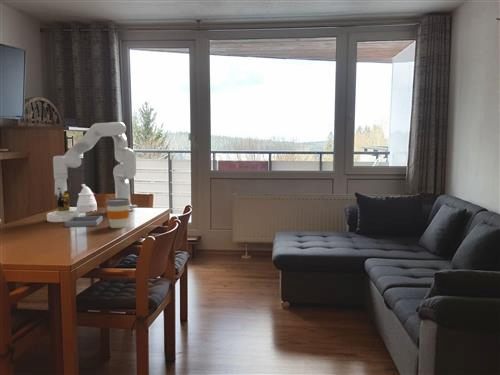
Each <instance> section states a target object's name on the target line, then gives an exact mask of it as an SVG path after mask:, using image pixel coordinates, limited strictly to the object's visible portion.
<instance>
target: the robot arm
mask: <svg viewBox="0 0 500 375" xmlns="http://www.w3.org/2000/svg"><path fill="white" fill-rule="evenodd" d="M126 132H127V126H126V124H125V123H124V122H121V121H111V122H99V123H98V122H95V123H94V124H92V125H91V126H90V128H88V129H87V131H86V132H85V134H84V135H83V136H82V137H81V138H80V139H79V140H78V141H77V142H75V144H73V145H72V146H71V147H70V148H69V149H68V150H67V151H66V152H65V154H63V155H54V156H53V157H52V158H53V159H52V162H53V166H52V167H53V178H54V195H55V196H56V197H57V208H59V207H63V206H64V202H63V195H64V192H65V191H68V183H67V180H68V178H69V177H68V176H69V175H68V168H73V169H75V168H78V167H80V166H81V165H82V158H81V157H80V156H81V155H83V154H85V152H88V151H90V150H92V149H93V147H95V145H96V144H97V142H98V141H99V140H100V138H102V137H111V138H112V139H113V143H114V159H115V160H116V161H117V162H118V163H119V164H117V165H115V166H114V167H113V171H112V174H113V178H114V189H115V191H114V192H115V198H127V199H129V202H130V204H129V212H132V211H134V209H133V208H136V209H137V208H138V205H137V204H132V203H131V185H130V180H132V179H133V178H135V176H136V175H137V156H136V153H135V151H134V150H133V149H132V148H130V147H128V146H129V145H128V144H129V143H128V139H127V135H126V134H125V133H126ZM120 163H121V164H120ZM60 194H62V195H60Z"/></svg>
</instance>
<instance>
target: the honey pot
mask: <svg viewBox="0 0 500 375" xmlns="http://www.w3.org/2000/svg"><path fill="white" fill-rule="evenodd" d="M81 187H82V189H81V190H80V193H78V194H77V195H78V199H77V202H76V211H78V212H79V213H90V211H92V212H96V211H97V210H98V206H97V201H96V197H95V196H94V192H93V191H92V190H91V188H90V187H88V186H86V184H85V183H83V184H81ZM95 210H96V211H95Z"/></svg>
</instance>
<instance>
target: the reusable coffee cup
mask: <svg viewBox="0 0 500 375" xmlns="http://www.w3.org/2000/svg"><path fill="white" fill-rule="evenodd" d="M130 203H131V201H130V202H129V199H127V198H116V197H115V198H108V199H106V201H105V206H106V214H107V219H108V221H109V226H110V228H112V229H122V228H127V227H128V222H129V218H130V211H129V204H130Z"/></svg>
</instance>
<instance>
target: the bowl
mask: <svg viewBox="0 0 500 375" xmlns="http://www.w3.org/2000/svg"><path fill="white" fill-rule="evenodd" d="M72 217H80V212H78V211H77V210H72V209H71V210H69V211H55V210H54V211H51V212H48V213H46V220H47V221H46V222H49V223H65V222H66V221H68V220H69V219H71V218H72Z"/></svg>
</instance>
